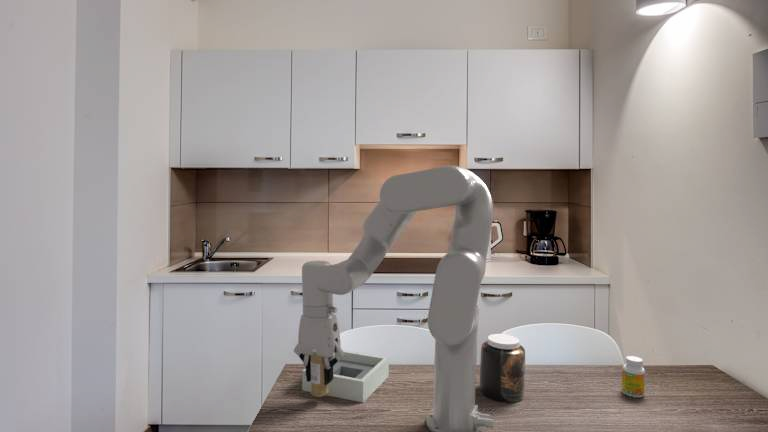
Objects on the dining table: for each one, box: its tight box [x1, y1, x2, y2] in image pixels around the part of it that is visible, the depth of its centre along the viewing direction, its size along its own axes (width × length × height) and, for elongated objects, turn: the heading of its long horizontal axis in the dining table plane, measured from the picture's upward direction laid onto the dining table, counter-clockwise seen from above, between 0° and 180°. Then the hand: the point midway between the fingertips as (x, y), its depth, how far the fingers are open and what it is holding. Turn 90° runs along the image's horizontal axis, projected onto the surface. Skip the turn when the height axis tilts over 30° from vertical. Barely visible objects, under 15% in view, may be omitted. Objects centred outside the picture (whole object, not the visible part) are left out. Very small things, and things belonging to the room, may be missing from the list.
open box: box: [301, 349, 390, 403], centre depth 132 cm, size 18×18×6 cm
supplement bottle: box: [621, 355, 646, 398], centre depth 128 cm, size 5×5×10 cm
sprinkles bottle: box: [310, 349, 329, 398], centre depth 120 cm, size 5×5×13 cm
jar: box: [479, 333, 526, 404], centre depth 127 cm, size 12×12×15 cm
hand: (319, 380), depth 120 cm, fingers closed on sprinkles bottle, 4 cm apart
